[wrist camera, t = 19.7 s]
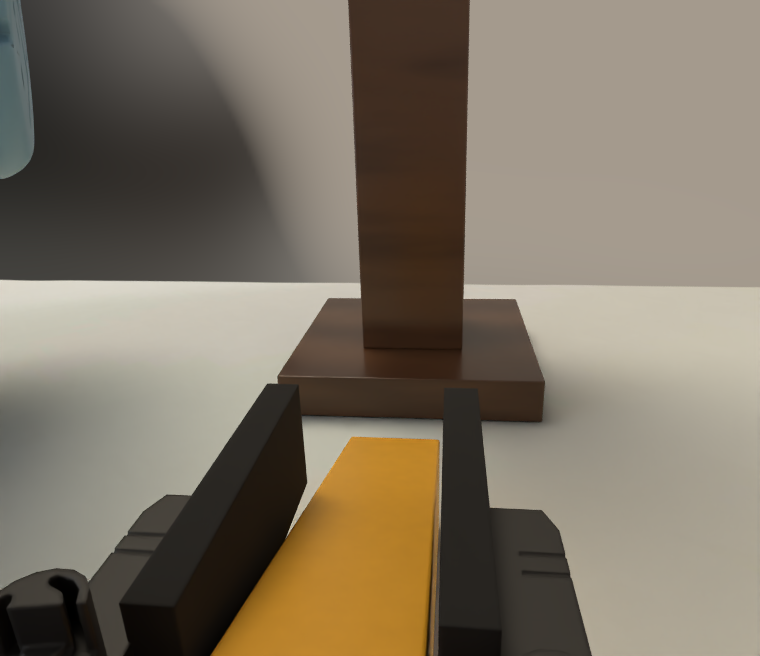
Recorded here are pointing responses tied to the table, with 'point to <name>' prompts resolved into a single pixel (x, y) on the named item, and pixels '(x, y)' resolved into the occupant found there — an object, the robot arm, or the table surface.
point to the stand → (413, 240)
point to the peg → (353, 562)
